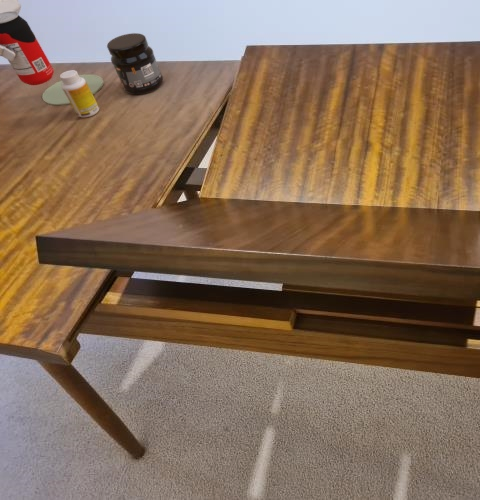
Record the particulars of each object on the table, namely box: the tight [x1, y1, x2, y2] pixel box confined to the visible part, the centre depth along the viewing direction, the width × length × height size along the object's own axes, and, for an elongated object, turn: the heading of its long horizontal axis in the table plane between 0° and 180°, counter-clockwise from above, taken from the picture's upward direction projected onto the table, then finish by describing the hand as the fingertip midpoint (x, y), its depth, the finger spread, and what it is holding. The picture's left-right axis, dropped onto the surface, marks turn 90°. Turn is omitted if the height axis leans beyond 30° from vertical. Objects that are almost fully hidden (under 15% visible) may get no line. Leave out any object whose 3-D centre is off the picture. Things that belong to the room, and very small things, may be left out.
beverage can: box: [0, 11, 55, 86], centre depth 87 cm, size 6×6×12 cm
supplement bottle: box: [59, 69, 100, 119], centre depth 111 cm, size 6×6×10 cm
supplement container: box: [106, 32, 164, 95], centre depth 118 cm, size 10×10×12 cm
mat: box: [41, 73, 105, 106], centre depth 124 cm, size 16×16×1 cm
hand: (24, 47), depth 87 cm, fingers closed on beverage can, 6 cm apart
